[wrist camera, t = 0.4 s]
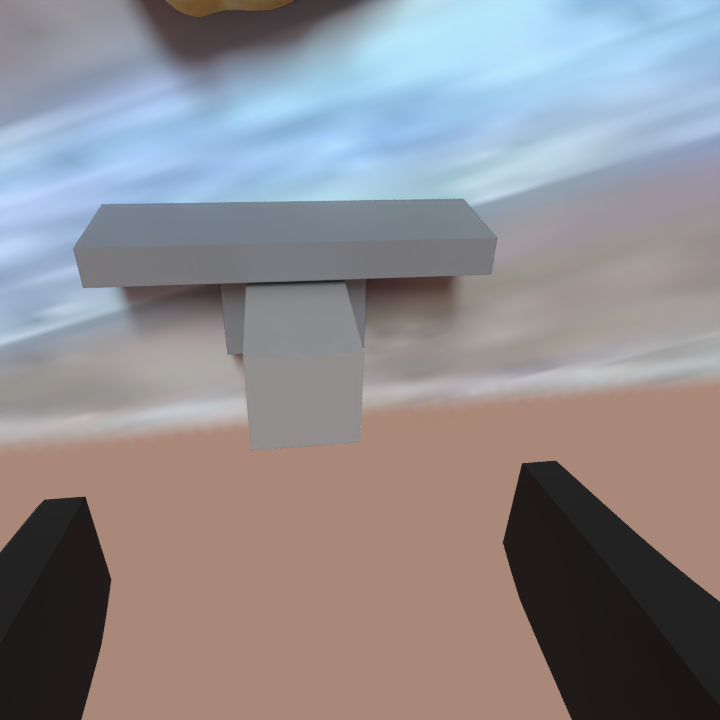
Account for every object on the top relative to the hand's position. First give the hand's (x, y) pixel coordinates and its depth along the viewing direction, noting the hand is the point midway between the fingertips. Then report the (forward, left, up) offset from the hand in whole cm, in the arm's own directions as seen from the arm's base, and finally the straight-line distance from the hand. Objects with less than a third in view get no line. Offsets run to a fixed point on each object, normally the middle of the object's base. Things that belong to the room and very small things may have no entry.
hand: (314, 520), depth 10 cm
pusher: (0, 0, -9) cm, 9 cm away
